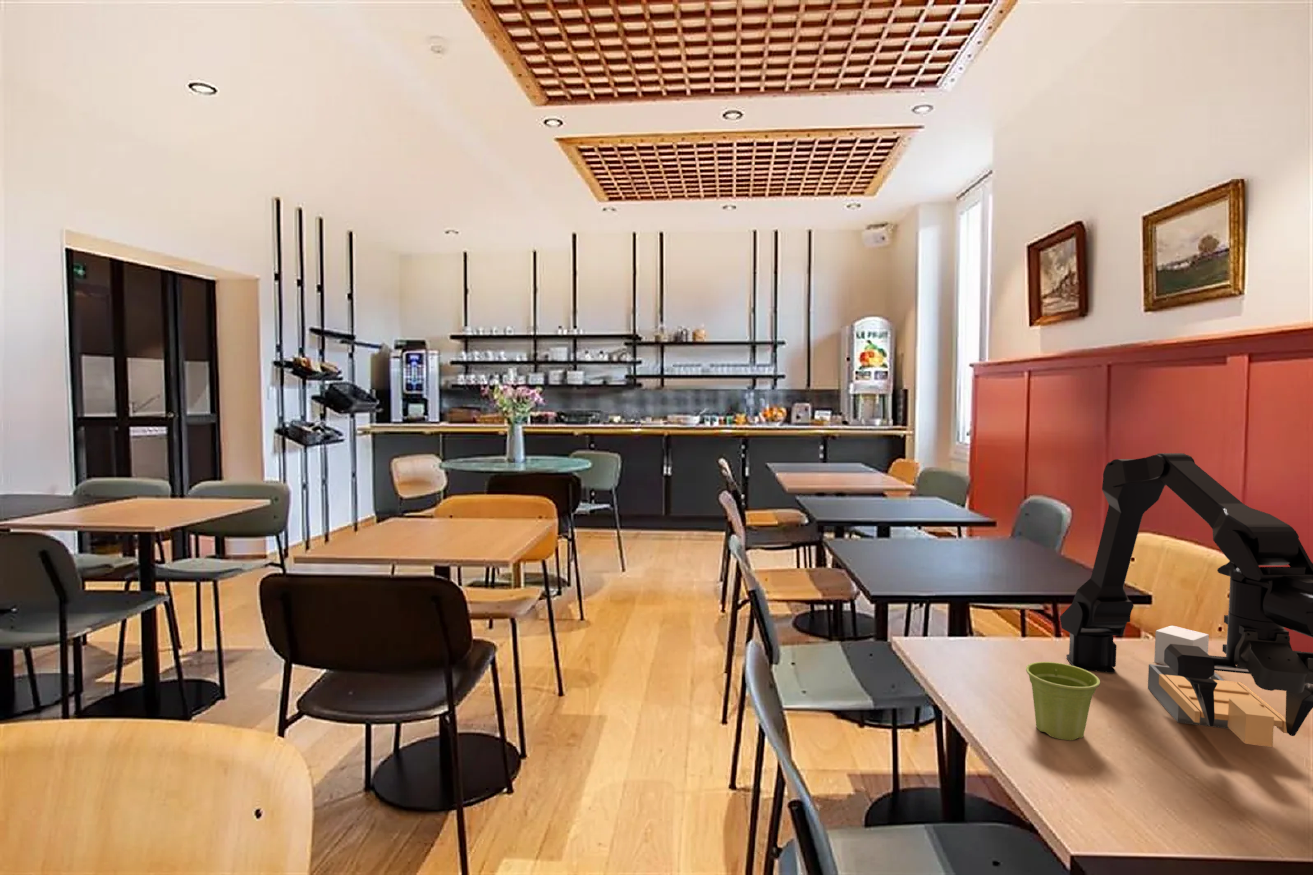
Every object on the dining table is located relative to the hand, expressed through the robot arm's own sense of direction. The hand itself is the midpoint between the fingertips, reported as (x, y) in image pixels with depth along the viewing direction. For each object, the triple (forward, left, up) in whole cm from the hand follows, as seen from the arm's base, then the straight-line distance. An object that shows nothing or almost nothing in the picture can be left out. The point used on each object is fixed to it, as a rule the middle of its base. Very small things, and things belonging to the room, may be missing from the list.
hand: (1249, 729), depth 96 cm
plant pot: (-22, +2, -5) cm, 23 cm away
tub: (0, +17, -4) cm, 18 cm away
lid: (0, +7, -1) cm, 7 cm away
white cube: (+5, +38, -5) cm, 39 cm away
